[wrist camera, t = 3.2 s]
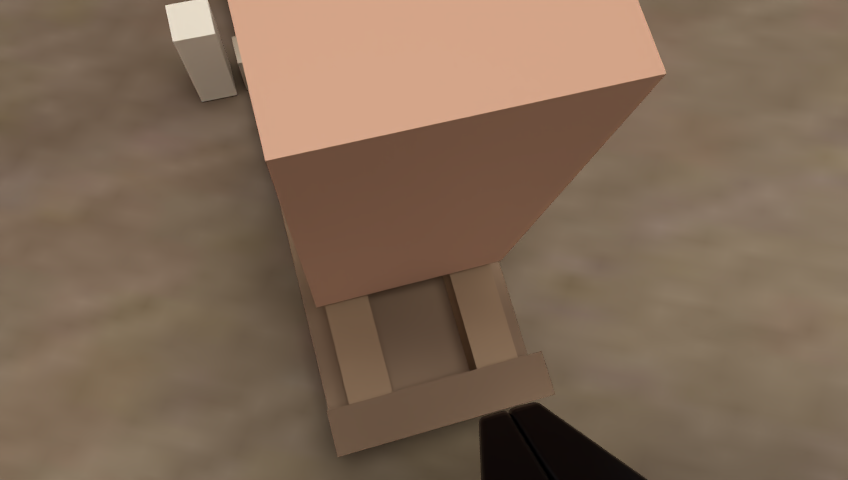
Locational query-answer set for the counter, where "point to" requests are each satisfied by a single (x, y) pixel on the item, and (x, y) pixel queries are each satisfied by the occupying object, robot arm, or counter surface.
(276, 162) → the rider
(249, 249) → the counter surface
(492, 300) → the wooden tray
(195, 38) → the pair of white blocks
